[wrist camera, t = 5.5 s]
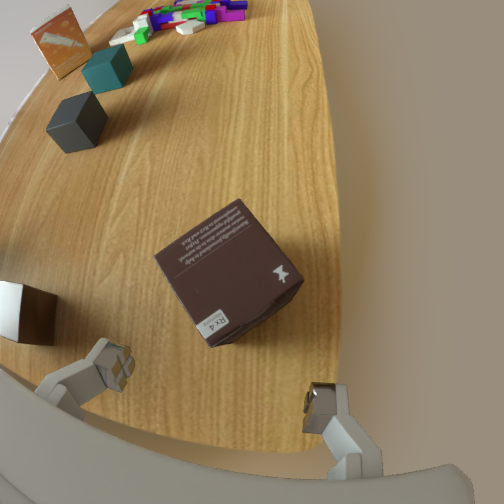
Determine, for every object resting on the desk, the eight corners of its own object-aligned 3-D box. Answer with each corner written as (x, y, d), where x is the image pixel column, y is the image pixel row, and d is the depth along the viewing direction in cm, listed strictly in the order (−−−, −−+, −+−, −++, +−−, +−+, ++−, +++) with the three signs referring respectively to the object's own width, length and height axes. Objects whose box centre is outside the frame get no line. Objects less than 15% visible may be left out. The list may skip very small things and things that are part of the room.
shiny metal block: (53, 346, 20) (18, 343, 15) (23, 336, 20) (-10, 331, 16) (57, 295, 22) (23, 283, 17) (28, 290, 22) (-5, 279, 17)
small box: (58, 81, 34) (29, 34, 21) (56, 71, 35) (30, 28, 23) (95, 56, 35) (71, 6, 23) (89, 49, 37) (67, 3, 24)
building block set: (249, -5, 40) (248, -21, 35) (243, 30, 33) (241, 8, 29) (140, 11, 41) (135, -3, 37) (104, 54, 35) (96, 36, 30)
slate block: (95, 147, 27) (75, 120, 22) (65, 153, 27) (44, 130, 22) (108, 117, 28) (92, 90, 24) (78, 124, 29) (61, 100, 24)
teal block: (122, 87, 30) (110, 61, 26) (94, 94, 31) (80, 71, 26) (133, 67, 32) (123, 43, 27) (106, 74, 32) (94, 52, 27)
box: (248, 239, 23) (241, 194, 16) (294, 300, 21) (309, 280, 14) (185, 282, 22) (150, 254, 15) (227, 346, 20) (208, 350, 13)
